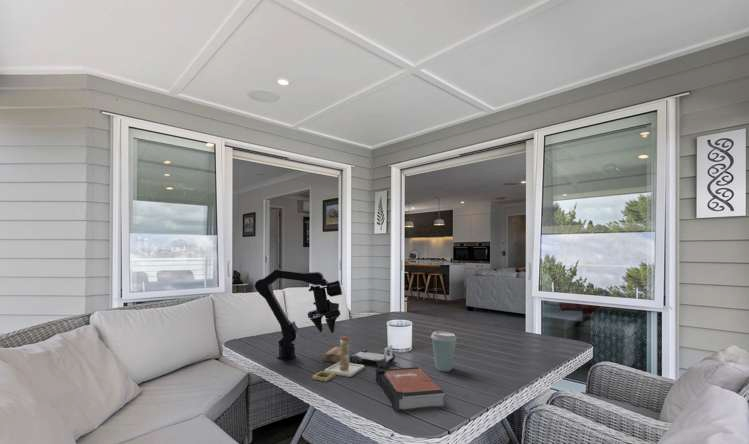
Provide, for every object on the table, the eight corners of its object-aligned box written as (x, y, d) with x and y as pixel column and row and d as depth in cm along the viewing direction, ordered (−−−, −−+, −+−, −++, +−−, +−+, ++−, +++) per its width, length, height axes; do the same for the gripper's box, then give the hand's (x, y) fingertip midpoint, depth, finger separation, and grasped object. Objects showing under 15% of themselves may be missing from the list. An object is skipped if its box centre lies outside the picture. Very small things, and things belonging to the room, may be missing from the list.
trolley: (349, 364, 160) (349, 346, 160) (362, 356, 171) (362, 340, 171) (384, 369, 153) (384, 350, 153) (395, 361, 164) (395, 344, 164)
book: (447, 407, 118) (446, 391, 118) (394, 412, 114) (394, 396, 114) (419, 378, 143) (419, 365, 144) (375, 382, 140) (375, 369, 140)
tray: (324, 372, 149) (324, 369, 149) (339, 364, 160) (339, 361, 160) (350, 377, 144) (350, 374, 144) (364, 368, 155) (364, 365, 155)
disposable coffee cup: (441, 363, 161) (440, 328, 162) (462, 369, 153) (461, 332, 154) (426, 369, 153) (425, 332, 155) (447, 375, 146) (447, 336, 147)
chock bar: (324, 361, 165) (324, 353, 165) (335, 354, 176) (335, 346, 176) (338, 363, 163) (339, 355, 163) (348, 355, 174) (348, 348, 174)
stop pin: (339, 370, 150) (339, 338, 151) (341, 367, 154) (341, 336, 155) (348, 371, 150) (348, 338, 151) (349, 368, 153) (349, 336, 154)
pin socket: (312, 379, 142) (312, 376, 142) (321, 374, 147) (321, 371, 147) (326, 381, 139) (326, 378, 139) (335, 376, 145) (335, 373, 145)
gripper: (346, 294, 171) (352, 327, 170) (323, 295, 184) (329, 326, 183) (326, 300, 163) (333, 335, 162) (304, 300, 176) (310, 333, 175)
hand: (326, 332), depth 171 cm, fingers open, 9 cm apart
